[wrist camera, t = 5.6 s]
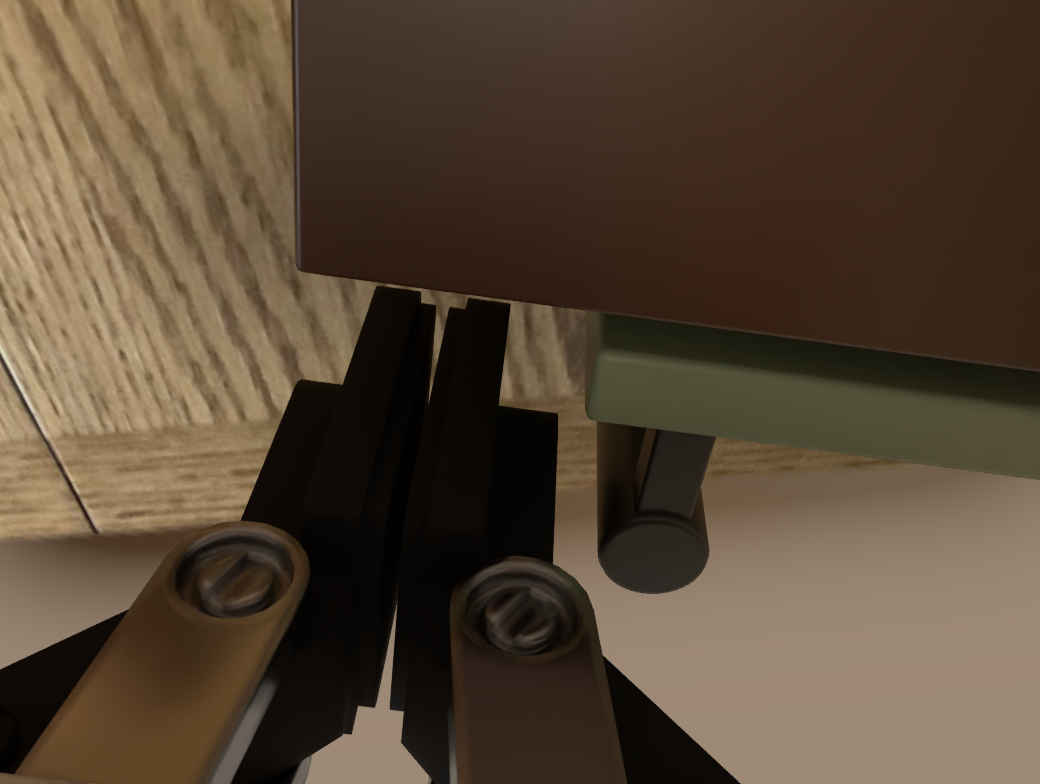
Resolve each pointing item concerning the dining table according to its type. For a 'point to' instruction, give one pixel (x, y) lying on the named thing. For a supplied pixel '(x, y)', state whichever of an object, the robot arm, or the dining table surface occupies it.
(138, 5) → the dining table surface
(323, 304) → the dining table surface
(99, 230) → the dining table surface
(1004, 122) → the cabinet
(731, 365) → the door
